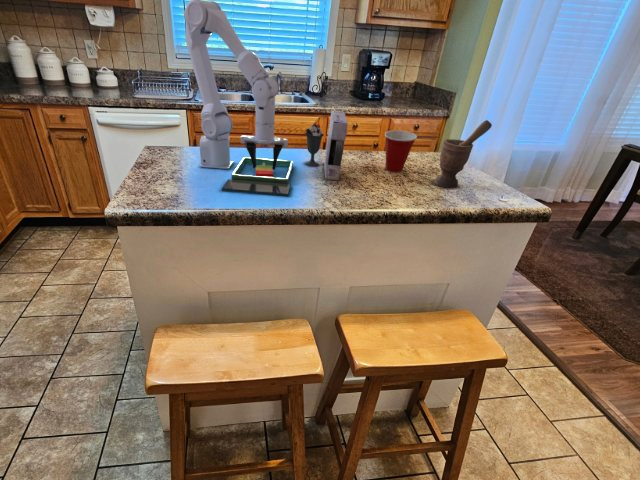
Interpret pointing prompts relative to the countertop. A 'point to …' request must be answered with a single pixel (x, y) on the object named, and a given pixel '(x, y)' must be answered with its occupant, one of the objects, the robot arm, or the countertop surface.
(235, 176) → the baking frame
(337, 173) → the cake pan box
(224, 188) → the slate board
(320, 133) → the sundae
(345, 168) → the countertop surface
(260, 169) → the popsicle
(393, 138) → the plastic cup
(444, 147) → the mortar and pestle
